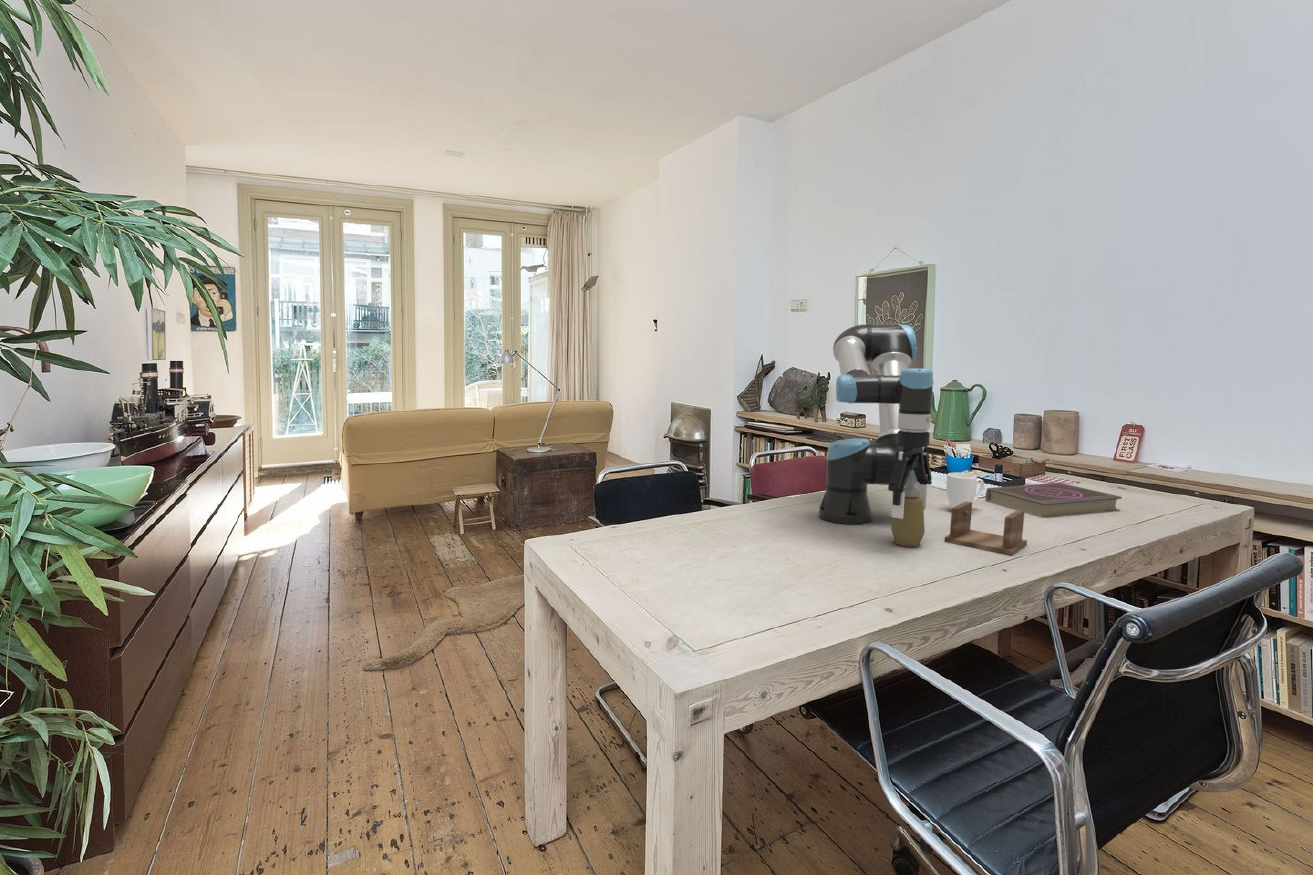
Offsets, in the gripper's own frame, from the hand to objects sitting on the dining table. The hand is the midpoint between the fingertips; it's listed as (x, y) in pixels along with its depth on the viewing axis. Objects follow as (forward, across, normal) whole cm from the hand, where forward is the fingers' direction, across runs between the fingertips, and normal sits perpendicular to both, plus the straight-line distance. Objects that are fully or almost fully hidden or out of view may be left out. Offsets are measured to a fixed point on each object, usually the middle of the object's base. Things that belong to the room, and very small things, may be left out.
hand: (909, 513), depth 162 cm
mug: (+8, +46, +2) cm, 47 cm away
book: (+8, +73, -15) cm, 75 cm away
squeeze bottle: (+8, 0, 0) cm, 8 cm away
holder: (+8, +15, -14) cm, 22 cm away
